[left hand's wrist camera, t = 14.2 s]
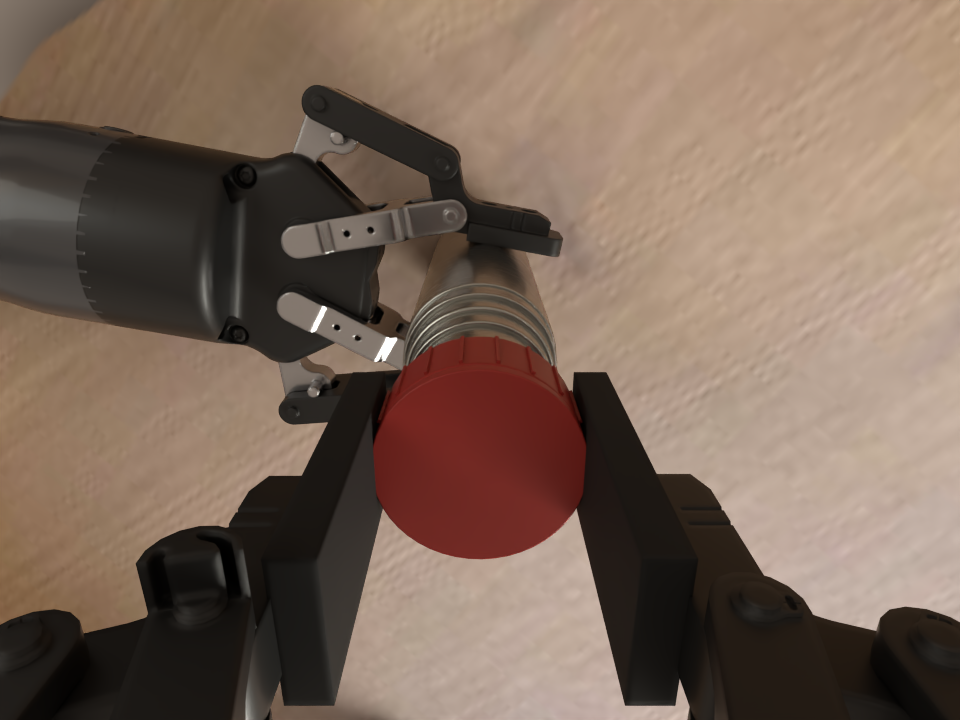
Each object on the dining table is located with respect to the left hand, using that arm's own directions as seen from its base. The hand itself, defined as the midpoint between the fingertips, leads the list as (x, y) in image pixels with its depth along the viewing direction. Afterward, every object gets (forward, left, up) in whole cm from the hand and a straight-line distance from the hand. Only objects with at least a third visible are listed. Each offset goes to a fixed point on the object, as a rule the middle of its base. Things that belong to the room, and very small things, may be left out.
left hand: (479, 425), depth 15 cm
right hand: (-2, +2, -12) cm, 12 cm away
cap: (0, 0, +2) cm, 2 cm away
